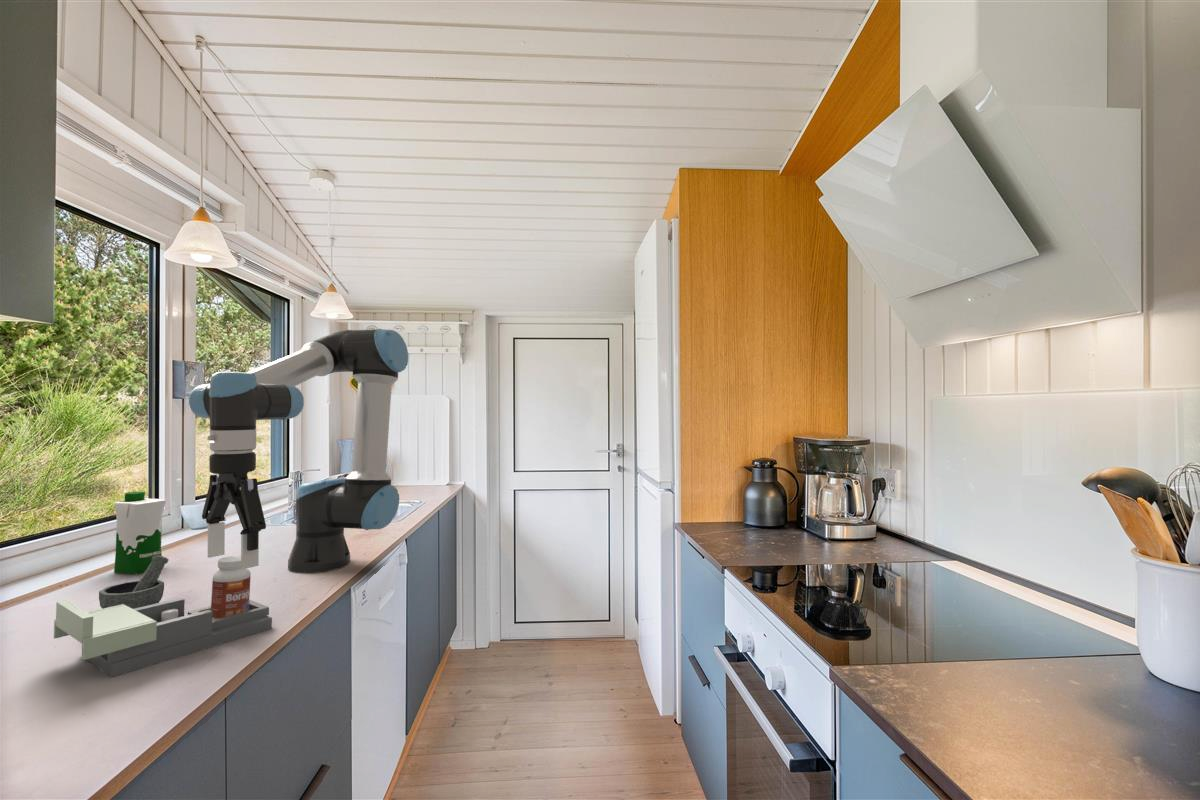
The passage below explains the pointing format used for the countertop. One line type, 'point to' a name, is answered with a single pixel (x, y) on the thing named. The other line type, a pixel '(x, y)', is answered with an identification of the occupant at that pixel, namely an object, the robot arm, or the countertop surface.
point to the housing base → (183, 634)
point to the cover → (103, 628)
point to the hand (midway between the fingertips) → (232, 561)
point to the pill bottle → (230, 588)
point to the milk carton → (137, 532)
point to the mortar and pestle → (137, 588)
